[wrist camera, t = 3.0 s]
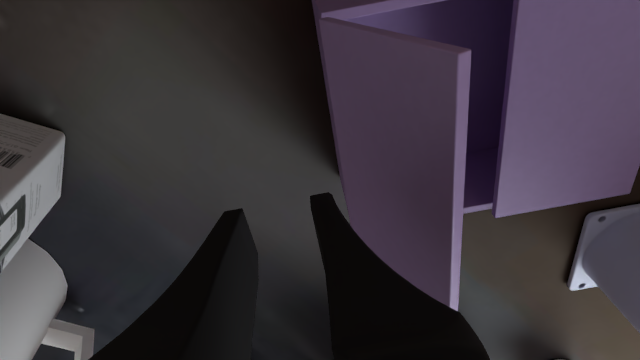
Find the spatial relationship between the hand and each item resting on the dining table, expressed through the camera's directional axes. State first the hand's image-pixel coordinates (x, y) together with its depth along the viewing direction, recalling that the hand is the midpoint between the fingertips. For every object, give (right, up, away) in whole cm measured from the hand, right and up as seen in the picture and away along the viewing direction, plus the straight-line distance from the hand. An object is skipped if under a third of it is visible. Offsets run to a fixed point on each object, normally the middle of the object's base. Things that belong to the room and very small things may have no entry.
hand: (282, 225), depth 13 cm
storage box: (+8, +7, +9) cm, 14 cm away
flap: (+4, +1, +1) cm, 4 cm away
